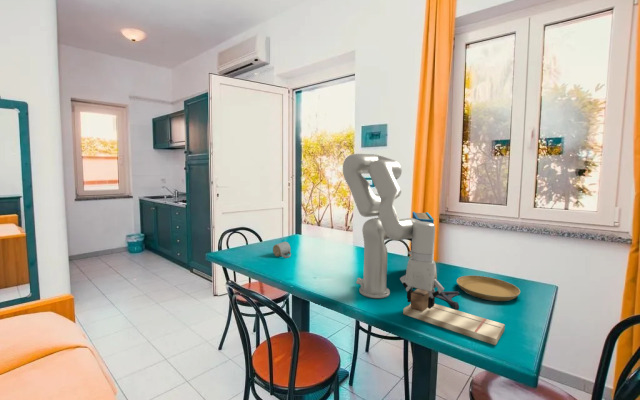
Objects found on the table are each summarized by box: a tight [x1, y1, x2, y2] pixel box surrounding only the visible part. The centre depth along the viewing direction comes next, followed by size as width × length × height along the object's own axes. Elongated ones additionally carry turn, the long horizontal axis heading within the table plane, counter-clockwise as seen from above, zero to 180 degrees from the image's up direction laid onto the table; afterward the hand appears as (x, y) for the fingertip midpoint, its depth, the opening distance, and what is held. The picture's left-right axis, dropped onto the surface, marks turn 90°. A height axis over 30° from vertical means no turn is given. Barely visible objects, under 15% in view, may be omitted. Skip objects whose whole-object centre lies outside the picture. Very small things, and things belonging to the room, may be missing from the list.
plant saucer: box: [456, 275, 521, 302], centre depth 138 cm, size 24×24×3 cm
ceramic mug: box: [272, 241, 292, 259], centre depth 187 cm, size 11×8×8 cm
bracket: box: [435, 290, 460, 310], centre depth 128 cm, size 14×15×3 cm
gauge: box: [410, 288, 430, 311], centre depth 118 cm, size 4×9×6 cm, turn 139°
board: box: [402, 303, 506, 346], centre depth 111 cm, size 30×12×2 cm, turn 49°
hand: (420, 303), depth 117 cm, fingers open, 7 cm apart
